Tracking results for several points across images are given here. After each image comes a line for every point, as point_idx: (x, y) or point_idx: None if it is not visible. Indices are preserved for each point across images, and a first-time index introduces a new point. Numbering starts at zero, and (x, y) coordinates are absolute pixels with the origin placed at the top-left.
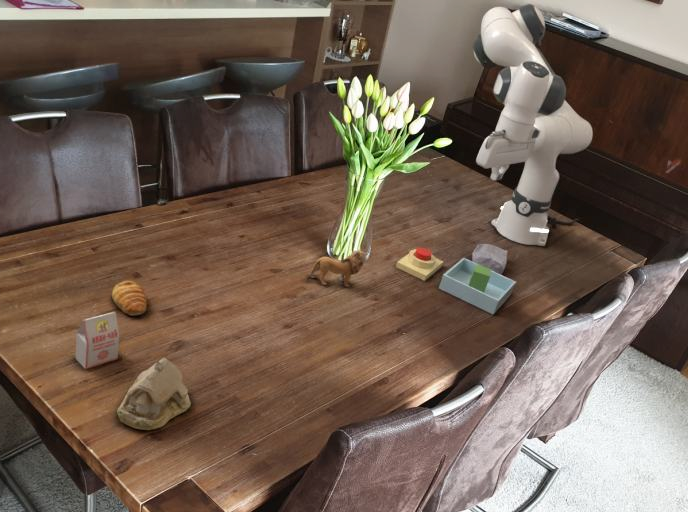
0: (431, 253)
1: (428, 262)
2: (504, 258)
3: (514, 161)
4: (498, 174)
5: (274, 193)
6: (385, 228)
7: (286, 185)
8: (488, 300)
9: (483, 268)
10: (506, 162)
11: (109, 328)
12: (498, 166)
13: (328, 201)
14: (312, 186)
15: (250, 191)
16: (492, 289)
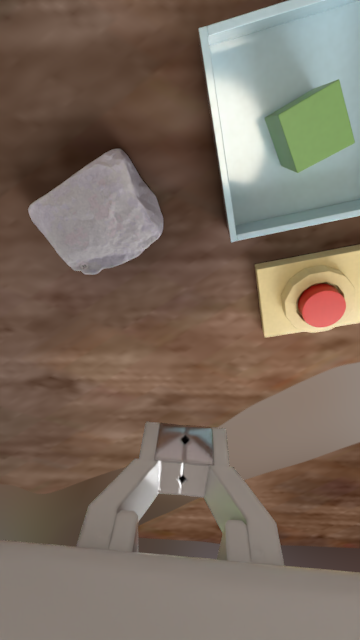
0: (313, 295)
1: (338, 277)
2: (90, 174)
3: (32, 579)
4: (215, 466)
5: (301, 528)
6: (221, 411)
7: None
8: None
9: (302, 136)
10: (219, 603)
11: None
12: (282, 558)
13: None
14: None
15: (331, 540)
16: (246, 96)
